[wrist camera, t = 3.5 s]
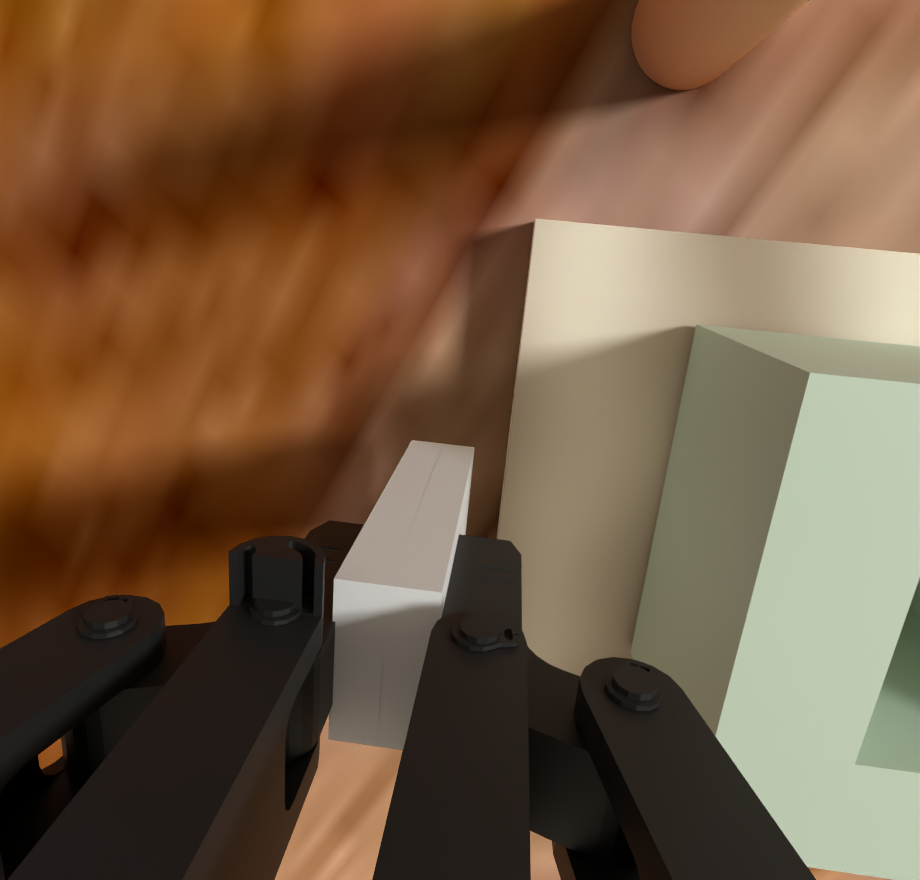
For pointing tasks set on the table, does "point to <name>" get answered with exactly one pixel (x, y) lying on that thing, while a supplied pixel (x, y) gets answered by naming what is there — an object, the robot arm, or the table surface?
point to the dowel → (701, 36)
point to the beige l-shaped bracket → (644, 395)
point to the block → (799, 583)
